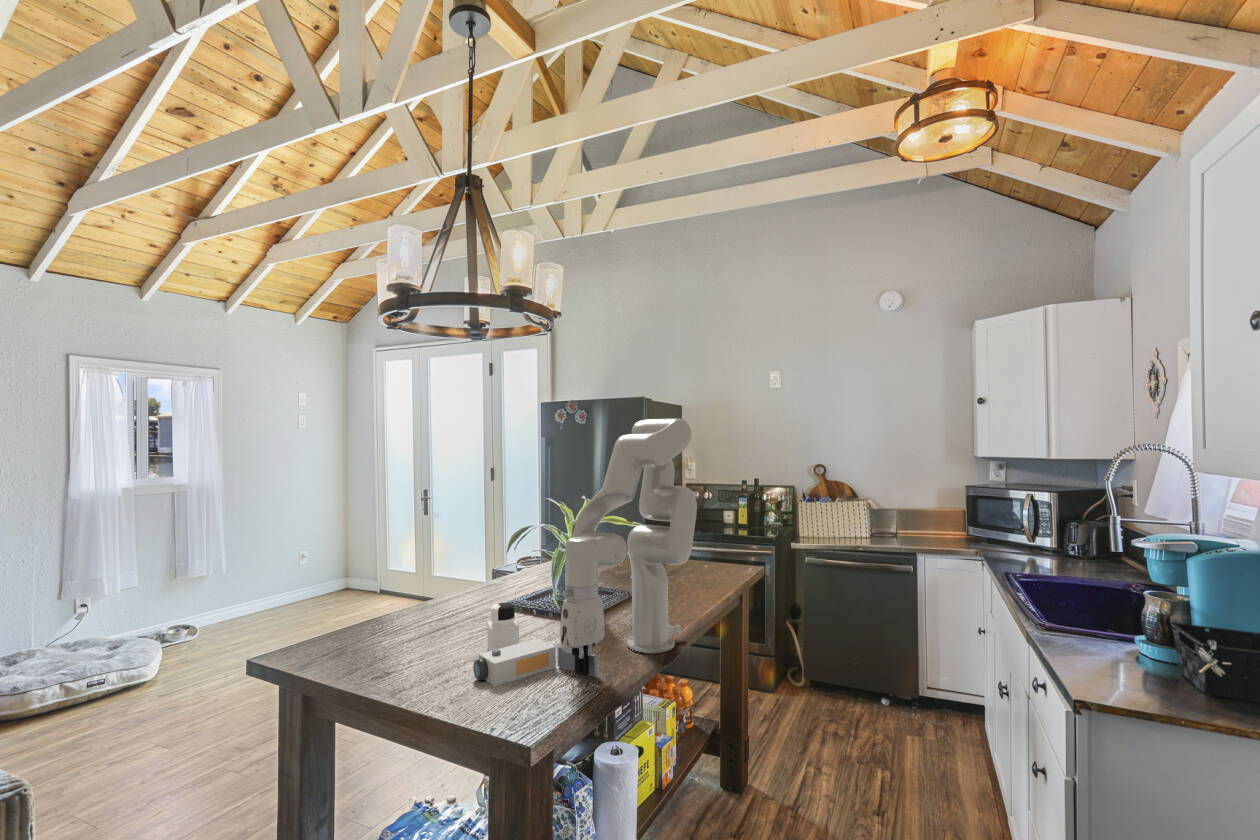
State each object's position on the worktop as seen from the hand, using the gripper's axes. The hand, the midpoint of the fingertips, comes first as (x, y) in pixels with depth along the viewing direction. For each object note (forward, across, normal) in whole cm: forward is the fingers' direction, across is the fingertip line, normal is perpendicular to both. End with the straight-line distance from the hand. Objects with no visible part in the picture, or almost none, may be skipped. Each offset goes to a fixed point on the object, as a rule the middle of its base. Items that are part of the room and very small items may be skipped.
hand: (582, 673), depth 134 cm
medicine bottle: (+2, -1, +30) cm, 30 cm away
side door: (+1, +3, +5) cm, 5 cm away
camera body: (+2, -7, +15) cm, 17 cm away
